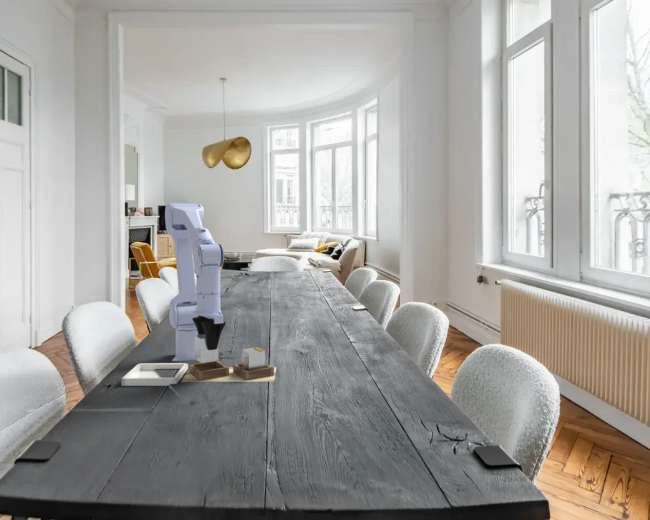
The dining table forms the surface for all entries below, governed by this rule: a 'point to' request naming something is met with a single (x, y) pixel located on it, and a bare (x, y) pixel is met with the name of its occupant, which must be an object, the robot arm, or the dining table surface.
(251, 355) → the seated billet
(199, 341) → the loose billet
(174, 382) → the white square tray
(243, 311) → the dining table surface
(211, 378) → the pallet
